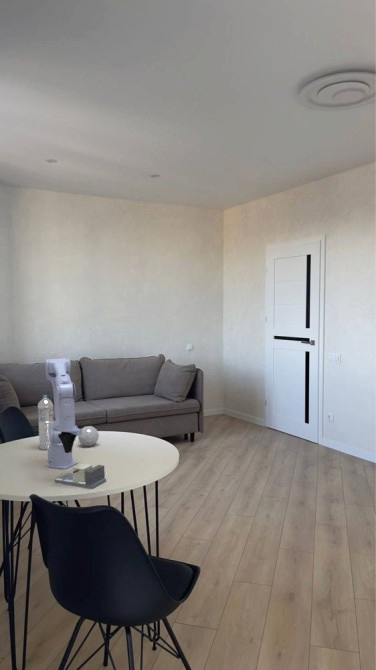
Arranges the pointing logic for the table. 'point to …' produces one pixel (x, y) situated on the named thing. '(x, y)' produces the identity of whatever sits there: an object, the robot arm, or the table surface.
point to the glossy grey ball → (88, 436)
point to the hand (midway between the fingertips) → (68, 452)
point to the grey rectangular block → (94, 475)
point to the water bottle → (45, 421)
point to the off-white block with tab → (80, 472)
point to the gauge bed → (69, 480)
